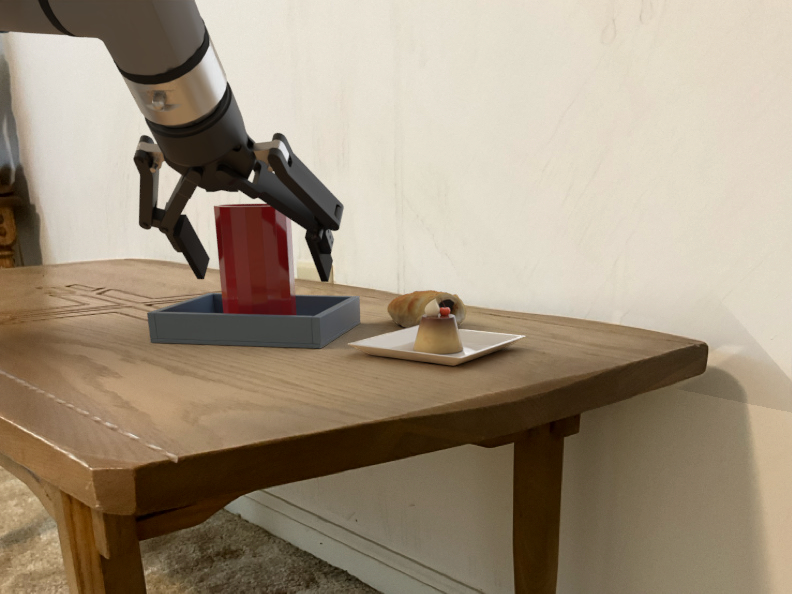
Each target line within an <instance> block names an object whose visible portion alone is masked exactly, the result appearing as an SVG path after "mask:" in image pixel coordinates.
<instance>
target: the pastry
mask: <svg viewBox="0 0 792 594" xmlns="http://www.w3.org/2000/svg"><path fill="white" fill-rule="evenodd" d="M434 299H436V302H437V304H438V306H439V308H444V305H445V308H446V307H448V308H450V314H452V315H454V316H455V319H456V322H457V326H459V325H460V324H462V323H463V321H464V320H465V319H466V317H467V307H466V305H465V304H464V302H463V300H462V299H461V298H460V297H459V296H458V294H456V293H455V294H452V293H449V292H445V291H437V290H432V289H429V290H428V289H427V290H415V291H413V292H410V293H405V294H403V295H400V296H397V297H395V298H393V299H392V300H391V301H390V302H389V304H388V305H387V307H386V310H387V314H388V315H389V317H390V318H391V319H392V322H394V323H395V324H397V325H400V326H401V327H402V328H409V327H413V326H417V325H419V324H420V320H421V317H422V315H425V314H426V313H425V307H426V305H427V304H428V303H430V302H431V301H432V300H434ZM441 299H442V301H443V302H442V301H441ZM443 303H444V304H443Z"/></svg>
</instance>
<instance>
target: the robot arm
mask: <svg viewBox="0 0 792 594" xmlns="http://www.w3.org/2000/svg"><path fill="white" fill-rule="evenodd" d="M9 33H21V34H38V35H53V36H68V37H72V38H87V39H88V38H89V39H98V40H100V41H101V42H102V43H103V45H104V46H105V48H106V50H107V52H108V53H109V55H110V57H111V58H112V61H113V63H114V65H115V66H116V68H117V71H118V72H119V73H120V75H121V77H122V79H123V81H124V83H125V85H126V87H127V89H128V90H129V92H130V94H131V96H132V98H133V100H134V102H135V104H136V105H137V107H138V109H139V111H140V113H141V114H142V115H143V117H144V121H145V124H146V126H147V127H148V130H149V131H150V133H151V135H152V137H153V138H152V137H151V136H149V135H146V134H143V135H141V136H140V137H139V140H138V143H137V146H136V149H135V152H134V155H133V159H132V160H133V163H134V165H135V167H136V170H137V172H138V174H139V195H138V196H139V197H138V198H139V199H138V226H139V227H140V228H141V229H143V230H147V231H148V230H151V229H152V228H155V229H158V231H159V232H160V233H161V234H163V235H165V237H166V239H167V240H168V241H169V244H170V245H171V247H172V249H173V250H174V251H175V252H176V253H179V254H180V253H181V254H182V256H183V257H184V259H185V261H186V262H187V265H188V266H189V267H190V269H191V271H192V273H193V274H194V276H195V278H196V280H205V277H206V274H207V270H208V266H209V264H210V260H211V258H210V256H209V254H208V253H207V251H206V249H205V246H204V245H203V243H202V241H201V239H200V237H199V236H198V234H197V231H196V230H195V228H194V227H193V224H192V222H191V221H190V219H189V217H188V215H187V214H183V211H184V210H185V207H186V206H187V204H188V202H189V200H191V199H192V198H193V195H194V194H195V192H196V189H197V188H200V189H203V190H205V192H206V193H217V192H219V191H221V192H229V193H239V192H240V193H243V194H244V195H245V196H246V197H248V198H250V199H251V200H256V199H259V200H261V201H262V202H264V204H268V205H270V206H271V207H273V208H274V209H276V210H277V211H279V212H280V213H282V214H283V215H285V216H286V217H288V218H289V219H291V222H294V223H295V224H296V225H298V226H300V227H301V228H303V230H305V234H304V240H305V242H306V245H307V247H308V251H309V253H310V255H311V259H312V261H313V263H314V267H315V269H316V271H317V274H318V276H319V279H320V282H321V283H329V281H330V276H331V272H332V267H333V263H334V259H333V256H332V251H333V248H334V242H335V238H334V235H333V232H337V231H339V230H340V227H341V223H342V219H343V214H344V209H345V206H344V204H343V203H342V202H341V201H340V200H339V199H338V197H336V195H334V194H333V192H332V191H331V190H330V189H329V188H328V187H327V186H326V185H325V184H324V183H323V182H322V181H321V180H320V179H319V178H318V177H317V175H315V174H314V172H313V171H312V170H310V168H309V167H308V166H307V165H306V164H305V163H304V162H303V161H302V160H301V158H299V157H298V156H297V155H296V153H295V152H294V151H293V149H292V147H291V145H290V143H289V141H288V138H287V137H286V136H285V134H283V133H281V132H275V133H273V135H272V138H271V141H262V142H256V141H255V140H254V139H252V137H251V136H250V135H249V134H248V133H247V130H246V126H245V125H246V124H245V122H244V117H243V115H242V112H241V110H240V107H239V105H238V102H237V100H236V97H235V95H234V92H233V89H232V86H231V85H230V83H229V81H228V79H227V74H226V72H225V69H224V66H223V64H222V61H221V59H220V57H219V54H218V52H217V50H216V46H215V44H214V41H213V40H212V37H211V34H210V33H209V29H208V28H207V26H206V23H205V20H204V18H203V17H202V16H201V13H200V10H199V7H198V4H197V3H196V0H0V34H9ZM154 141H155V142H156V143H155V142H154ZM163 162H165V164H166V165H167V166H168V167H169V168H171V169H172V170H173V171H175V172H176V173H178V174H179V175H180V177H179V179H178V181H177V183H176V185H175V187H174V189H173V191H172V192H171V195H170V197H169V198H168V201H166V203H165V206H164V208H160V207H158V205H159V202H158V201H159V186H160V185H159V184H160V183H159V182H160V169H161V168H162V167H163ZM252 173H253V178H252V181H251V180H249V178H250V177H251V174H252Z"/></svg>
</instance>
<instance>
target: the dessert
mask: <svg viewBox="0 0 792 594" xmlns="http://www.w3.org/2000/svg"><path fill="white" fill-rule="evenodd" d="M441 301H442V299H441ZM442 302H443V301H442ZM443 304H444V303H443ZM425 313H426V314H425V315H422V317H421V320H420V324H419V325H417V326H413V327H408V328H406V327H404V328H402V329H398V330H394V331H391V332H386V333H383V334H379V335H375V336H371V337H367V338H364V339H359V340H356V341H351V342H348V343H347V345H348V346H349V347H352V348H355V349H357V350H359V351H361V352H363V353H365V354H368V355H371V356H377V357H384V358H392V359H399V360H406V361H407V360H408V361H414V362H423V363H429V364H436V365H444V366H452V367H456V366H458V365H461V364H464V363H467V362H470V361H472V360H475V359H478V358H482V357H484V356H487V355H491V354H493V353H496V352H498V351H502V350H504V349H507V348H508V347H509V346H512V345H514V344H515V343H517V342H519V341H521V340H523V339H524V338H526V335H521V334H519V335H518V334H511V333H502V332H501V333H500V332H492V331H484V330H473V329H466V328H465V329H463V328H459V327H458V326H459V325H457V322H456V319H455V316H454V315H452V314H450V308H448V307H446V308H445V305H444V308H439V306H438V304H437V302H436V299H434V300H432V301H431V302H430V303H428V304H427V305H426V307H425Z"/></svg>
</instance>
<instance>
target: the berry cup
mask: <svg viewBox="0 0 792 594" xmlns="http://www.w3.org/2000/svg"><path fill="white" fill-rule="evenodd" d="M213 214H214V224H215V225H214V226H215V234H216V235H215V236H216V237H215V238H216V246H217V247H216V248H217V257H218V268H219V269H218V270H219V279H220V290H221V291H220V293H222V303H223V313H224V314H261V315H297V314H296V297H295V295H296V283H295V281H296V280H295V263H294V248H293V245H294V244H293V231H292V230H293V228H292V220H291V219H289V218H288V217H286V216H285V215H283V214H282V213H280V212H279V211H277V210H276V209H274V208H273V207H271V206H270V205H268V204H267V203H225V204H224V203H223V204H214V205H213Z"/></svg>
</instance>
